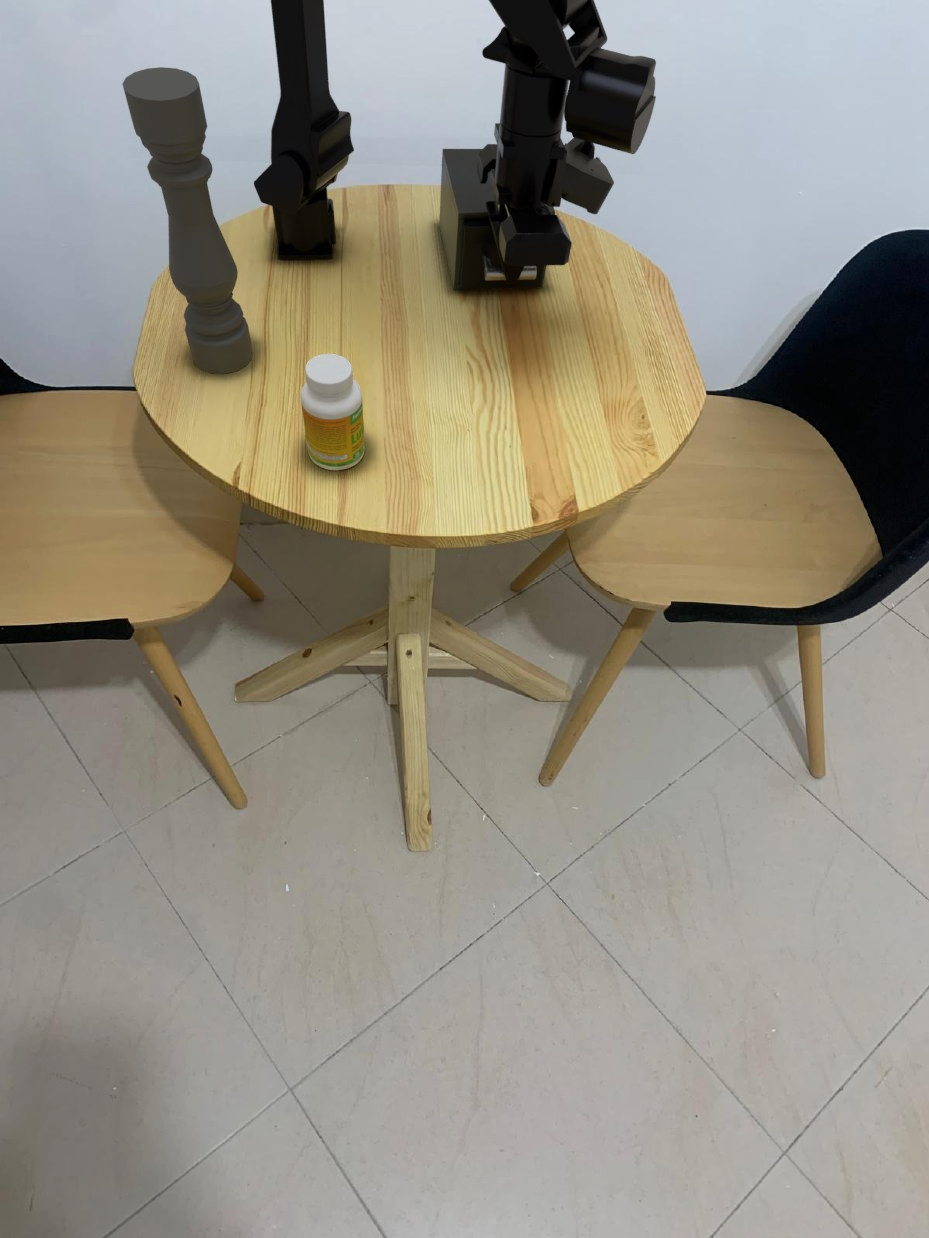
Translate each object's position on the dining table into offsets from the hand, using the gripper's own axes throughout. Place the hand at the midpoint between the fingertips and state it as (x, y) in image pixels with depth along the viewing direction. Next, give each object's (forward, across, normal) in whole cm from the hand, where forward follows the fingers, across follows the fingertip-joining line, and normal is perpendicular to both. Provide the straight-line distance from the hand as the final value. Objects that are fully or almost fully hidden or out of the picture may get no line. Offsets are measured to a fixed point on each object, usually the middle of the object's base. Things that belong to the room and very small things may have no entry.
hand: (511, 283), depth 83 cm
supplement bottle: (+6, -19, +20) cm, 28 cm away
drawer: (+3, +9, 0) cm, 10 cm away
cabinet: (+4, +13, 0) cm, 13 cm away
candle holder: (+5, -4, +31) cm, 32 cm away
